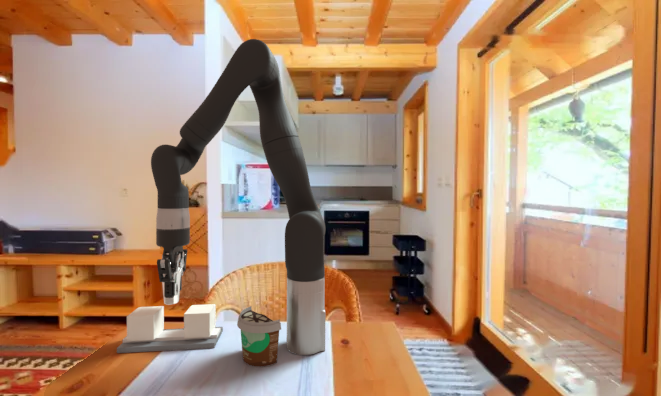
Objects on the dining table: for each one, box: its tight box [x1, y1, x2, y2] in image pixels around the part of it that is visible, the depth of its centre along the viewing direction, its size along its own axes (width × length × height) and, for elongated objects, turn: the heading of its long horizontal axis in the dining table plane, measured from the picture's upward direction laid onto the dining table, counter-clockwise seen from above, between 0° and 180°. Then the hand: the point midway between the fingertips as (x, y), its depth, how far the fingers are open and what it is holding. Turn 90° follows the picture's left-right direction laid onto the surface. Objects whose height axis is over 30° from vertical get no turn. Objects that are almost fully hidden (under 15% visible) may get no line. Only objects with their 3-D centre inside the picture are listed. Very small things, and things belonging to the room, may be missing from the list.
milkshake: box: [161, 264, 182, 306], centre depth 78 cm, size 4×5×10 cm
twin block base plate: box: [116, 303, 224, 354], centre depth 78 cm, size 22×9×8 cm, turn 97°
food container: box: [236, 305, 282, 368], centre depth 70 cm, size 12×6×10 cm, turn 47°
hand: (173, 293), depth 78 cm, fingers closed on milkshake, 4 cm apart
